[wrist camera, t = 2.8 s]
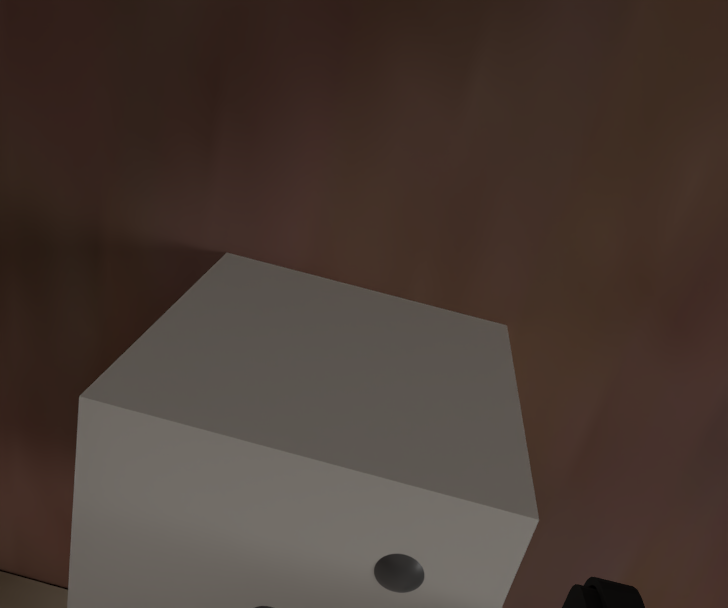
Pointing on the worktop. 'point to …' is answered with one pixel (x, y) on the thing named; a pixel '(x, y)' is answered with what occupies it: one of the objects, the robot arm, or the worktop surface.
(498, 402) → the die
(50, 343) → the worktop surface
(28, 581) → the board
